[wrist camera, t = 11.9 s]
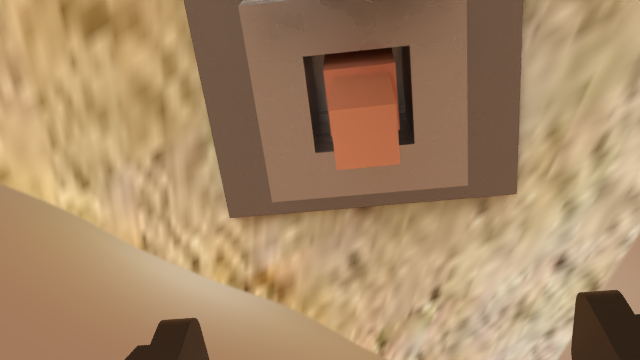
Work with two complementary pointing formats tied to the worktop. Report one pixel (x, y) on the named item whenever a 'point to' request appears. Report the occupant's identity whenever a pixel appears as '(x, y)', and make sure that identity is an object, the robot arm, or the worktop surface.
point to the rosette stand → (312, 110)
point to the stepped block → (363, 107)
